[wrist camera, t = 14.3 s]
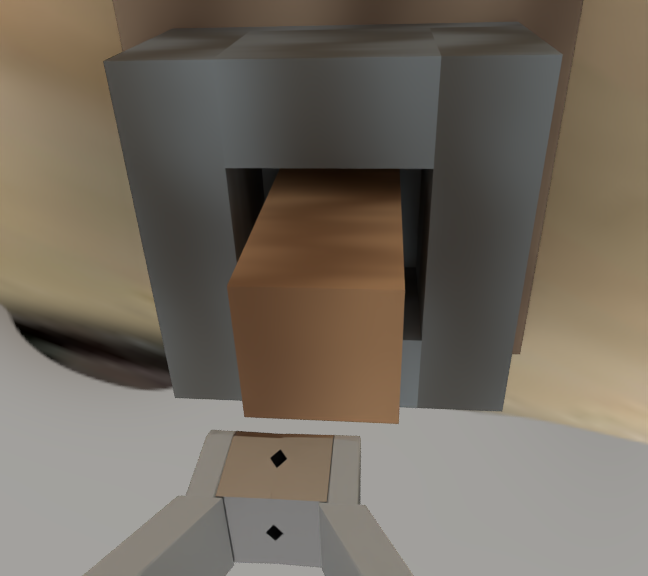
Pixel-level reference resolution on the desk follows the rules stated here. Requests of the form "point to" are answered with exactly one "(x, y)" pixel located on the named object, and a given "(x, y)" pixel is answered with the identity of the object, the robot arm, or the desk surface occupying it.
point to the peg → (322, 298)
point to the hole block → (347, 160)
